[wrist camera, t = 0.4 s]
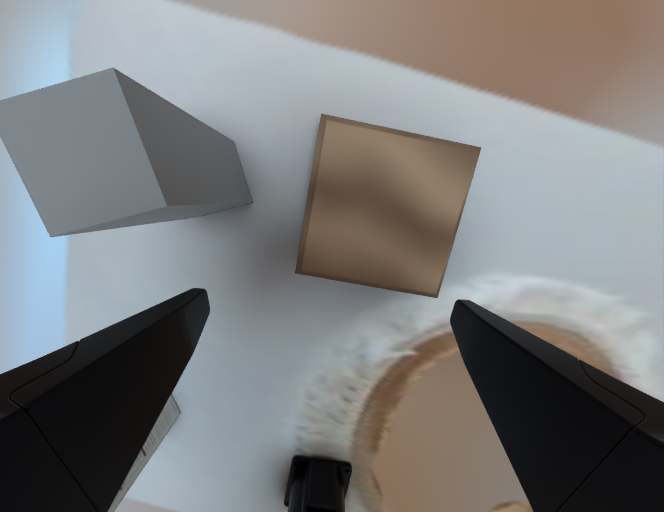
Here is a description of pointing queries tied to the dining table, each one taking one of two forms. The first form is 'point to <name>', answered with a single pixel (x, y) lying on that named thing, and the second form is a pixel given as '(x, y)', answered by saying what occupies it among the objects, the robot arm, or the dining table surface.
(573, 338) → the dining table surface
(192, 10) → the dining table surface
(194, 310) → the robot arm
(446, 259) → the walnut stand
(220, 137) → the block
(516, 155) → the dining table surface
